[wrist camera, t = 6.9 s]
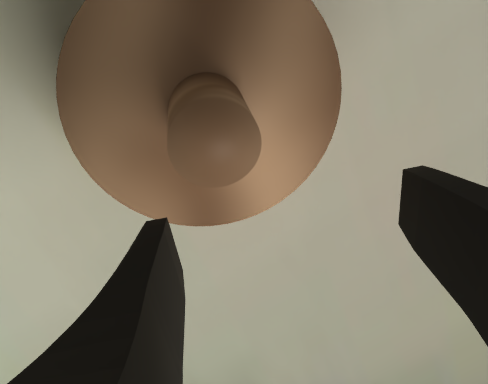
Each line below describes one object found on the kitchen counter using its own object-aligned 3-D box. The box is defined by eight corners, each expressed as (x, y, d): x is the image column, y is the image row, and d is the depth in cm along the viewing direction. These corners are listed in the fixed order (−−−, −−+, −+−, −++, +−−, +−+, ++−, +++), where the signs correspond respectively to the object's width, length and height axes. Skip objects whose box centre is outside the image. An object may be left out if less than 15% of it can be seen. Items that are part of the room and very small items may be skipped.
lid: (334, -73, 14) (394, -87, 10) (334, 194, 19) (371, 247, 16) (11, -30, 13) (-53, -27, 9) (109, 235, 19) (94, 303, 15)
